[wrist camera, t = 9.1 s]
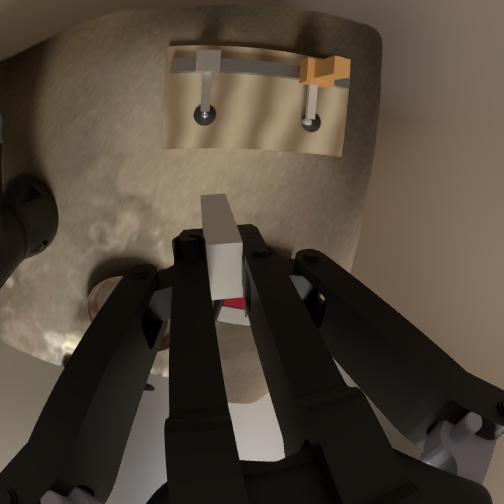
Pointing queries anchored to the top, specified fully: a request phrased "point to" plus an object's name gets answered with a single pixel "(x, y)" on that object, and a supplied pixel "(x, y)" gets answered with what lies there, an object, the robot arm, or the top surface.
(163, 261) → the top surface
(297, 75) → the rail
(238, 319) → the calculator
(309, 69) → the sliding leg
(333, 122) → the hole plate
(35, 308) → the top surface
